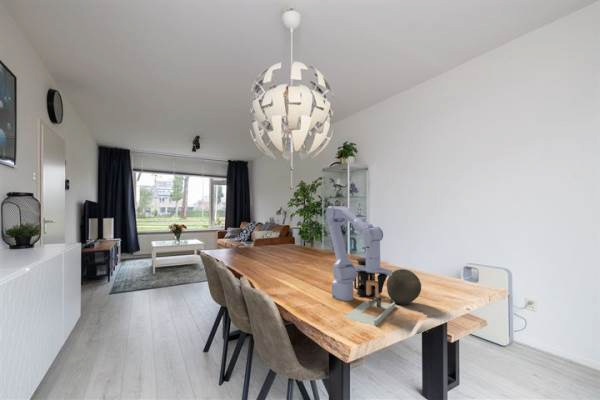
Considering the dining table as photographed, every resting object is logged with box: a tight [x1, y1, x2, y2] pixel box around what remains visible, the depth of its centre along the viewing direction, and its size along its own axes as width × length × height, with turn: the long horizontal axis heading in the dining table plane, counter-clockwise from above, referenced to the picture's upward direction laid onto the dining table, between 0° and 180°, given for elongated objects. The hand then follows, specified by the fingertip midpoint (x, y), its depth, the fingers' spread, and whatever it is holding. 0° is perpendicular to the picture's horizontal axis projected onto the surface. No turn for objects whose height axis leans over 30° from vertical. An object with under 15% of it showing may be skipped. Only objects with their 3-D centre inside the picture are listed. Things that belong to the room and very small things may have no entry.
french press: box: [353, 246, 376, 298], centre depth 133 cm, size 12×9×23 cm
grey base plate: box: [343, 300, 396, 327], centre depth 108 cm, size 13×22×3 cm, turn 144°
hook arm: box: [368, 296, 382, 309], centre depth 109 cm, size 2×11×6 cm, turn 144°
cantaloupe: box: [386, 268, 422, 305], centre depth 120 cm, size 14×14×15 cm
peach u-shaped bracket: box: [366, 280, 382, 298], centre depth 108 cm, size 5×2×5 cm, turn 54°
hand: (373, 291), depth 108 cm, fingers closed on peach u-shaped bracket, 5 cm apart
